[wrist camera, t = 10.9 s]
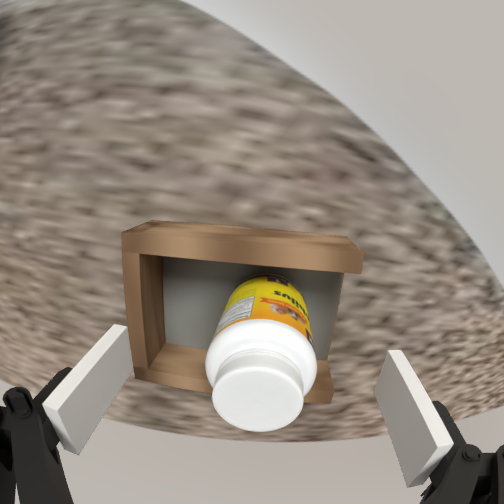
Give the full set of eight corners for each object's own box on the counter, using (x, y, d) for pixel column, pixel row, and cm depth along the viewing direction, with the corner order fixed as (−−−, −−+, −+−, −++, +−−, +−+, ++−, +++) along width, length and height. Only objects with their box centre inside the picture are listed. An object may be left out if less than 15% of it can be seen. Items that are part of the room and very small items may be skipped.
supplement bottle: (319, 317, 22) (343, 416, 12) (255, 351, 23) (240, 454, 13) (279, 254, 21) (280, 327, 11) (213, 294, 22) (167, 382, 12)
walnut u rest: (346, 236, 21) (364, 253, 16) (323, 365, 24) (330, 403, 19) (151, 220, 22) (121, 232, 17) (156, 346, 25) (135, 378, 20)
